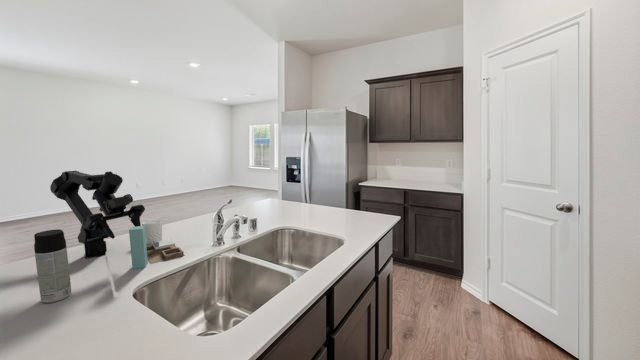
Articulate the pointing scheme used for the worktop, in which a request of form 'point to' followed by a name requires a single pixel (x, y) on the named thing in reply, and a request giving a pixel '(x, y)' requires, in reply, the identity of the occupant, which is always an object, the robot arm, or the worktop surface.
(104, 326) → the worktop surface
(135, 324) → the worktop surface
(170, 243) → the lid
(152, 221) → the white cup
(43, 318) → the worktop surface
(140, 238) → the block
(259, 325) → the worktop surface
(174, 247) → the board
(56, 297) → the spray can
